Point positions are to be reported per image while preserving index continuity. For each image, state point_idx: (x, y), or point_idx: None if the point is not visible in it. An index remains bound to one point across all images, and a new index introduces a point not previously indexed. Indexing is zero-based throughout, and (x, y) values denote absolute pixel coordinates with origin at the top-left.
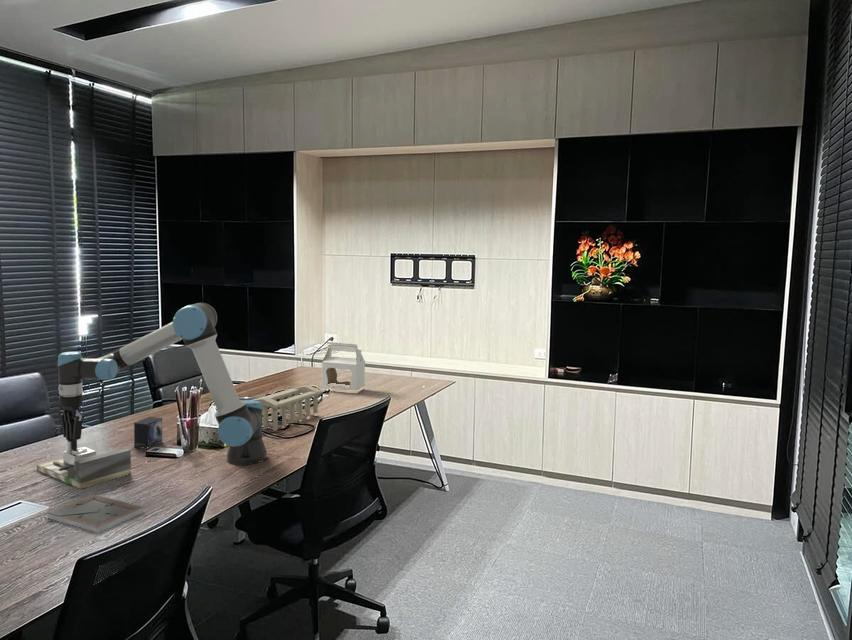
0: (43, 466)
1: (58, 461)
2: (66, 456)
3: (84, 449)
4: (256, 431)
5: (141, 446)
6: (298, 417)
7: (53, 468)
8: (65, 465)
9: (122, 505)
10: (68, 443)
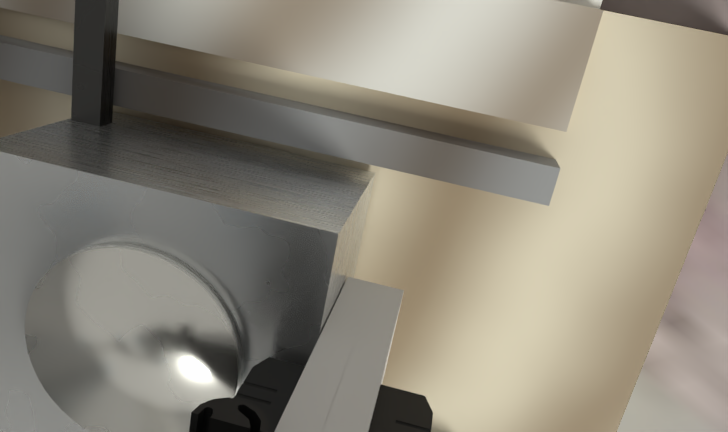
0: (572, 9)
1: (579, 261)
2: (252, 191)
3: (111, 411)
4: None
5: None
6: None
7: (369, 15)
8: (265, 123)
9: None
10: (328, 412)
